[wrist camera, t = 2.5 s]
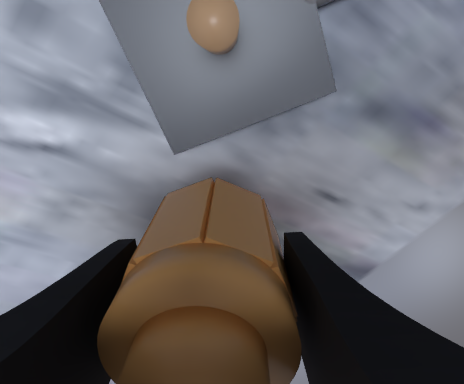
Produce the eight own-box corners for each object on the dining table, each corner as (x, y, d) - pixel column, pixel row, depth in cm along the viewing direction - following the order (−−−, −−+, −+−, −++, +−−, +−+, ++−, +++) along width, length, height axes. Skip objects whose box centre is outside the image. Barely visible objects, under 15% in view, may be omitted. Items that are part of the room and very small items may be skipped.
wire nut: (250, 163, 10) (268, 283, 5) (288, 264, 12) (336, 441, 6) (133, 206, 11) (23, 355, 5) (185, 295, 13) (145, 478, 7)
